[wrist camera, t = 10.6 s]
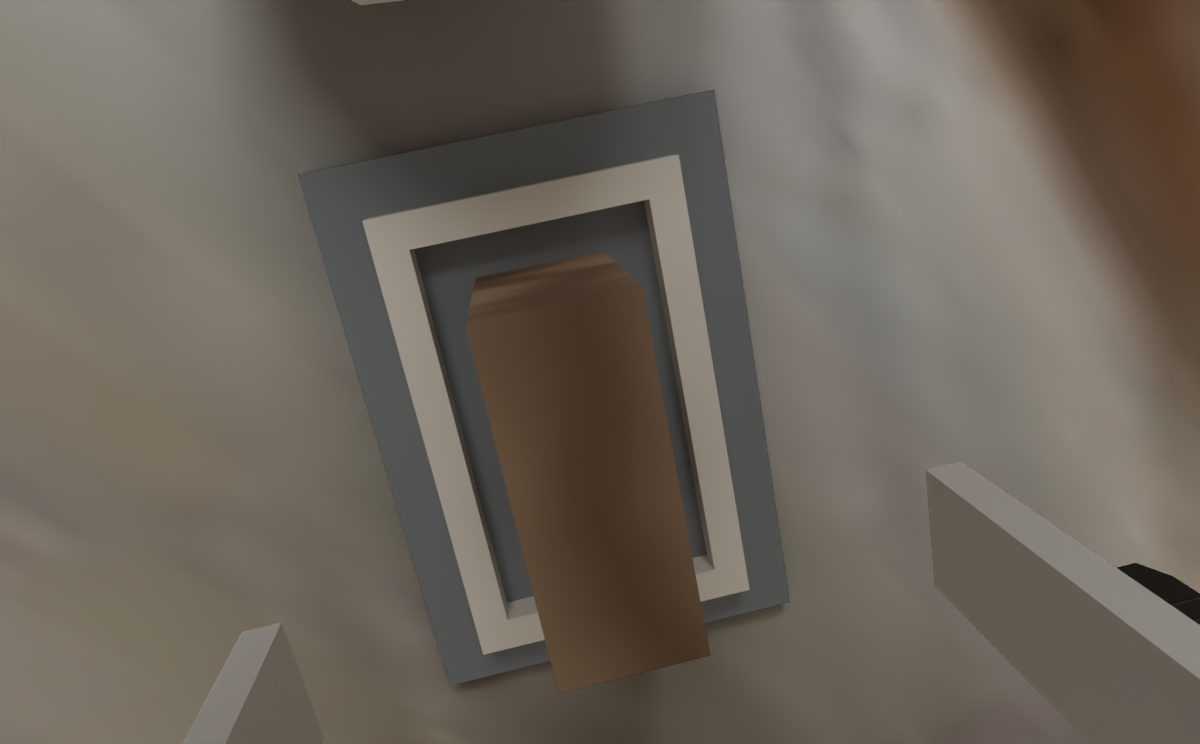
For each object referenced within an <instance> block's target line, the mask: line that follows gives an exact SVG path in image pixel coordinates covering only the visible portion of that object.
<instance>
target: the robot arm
mask: <svg viewBox="0 0 1200 744" xmlns="http://www.w3.org/2000/svg"><path fill="white" fill-rule="evenodd" d="M926 481H927V494H928V506H929V519H930V532H931V545H932V558H933V571H934V583H935V587H936V588H937V589H938V590H939V591H940V592H941V593H942V594H943V595H944V596H945V597H946V598H947V599H948V600H949V601H950V602H951V603H952V604H953V605H954V606H955V607H956V608H957V609H958V610H959V611H960V612H961V613H962V614H963V615H964V616H965V617H966V618H967V619H968V620H969V621H970V622H971V623H972V624H973V625H974V626H975V627H976V628H977V629H978V630H979V631H980V632H981V633H982V634H983V635H984V637H985V638H986V639H987V640H988V641H989V642H990V643H991V644H992V645H993V646H994V647H995V648H996V649H997V650H998V651H999V652H1000V653H1001V654H1002V655H1003V656H1004V657H1005V658H1006V659H1007V660H1008V661H1009V662H1010V663H1011V664H1012V665H1013V666H1014V667H1015V668H1016V669H1017V670H1018V671H1019V672H1020V673H1021V674H1022V675H1023V676H1024V677H1025V678H1026V679H1027V680H1028V681H1029V682H1030V683H1031V684H1032V685H1033V686H1034V687H1035V688H1036V689H1037V690H1038V691H1039V692H1040V693H1041V694H1042V695H1043V696H1044V698H1045V699H1046V700H1047V701H1048V702H1049V703H1050V704H1051V705H1052V706H1053V707H1054V708H1055V709H1056V710H1057V711H1058V712H1059V713H1060V714H1061V715H1062V716H1063V717H1064V718H1065V719H1066V720H1067V721H1068V722H1069V723H1070V724H1071V725H1072V726H1073V727H1074V728H1075V729H1076V730H1077V731H1078V732H1079V733H1080V734H1081V735H1082V736H1083V737H1084V738H1085V739H1086V740H1087V741H1088V742H1089V743H1090V744H1200V594H1199V593H1198V592H1196V591H1195V590H1193V589H1192V588H1190V587H1188V586H1187V585H1185V584H1184V583H1182V582H1181V581H1179V580H1178V579H1176V578H1174V577H1173V576H1170V575H1168V574H1165V573H1162V572H1159V571H1157V570H1154V569H1151V568H1148V567H1146V566H1143V565H1140V564H1137V563H1134V564H1130V565H1126V566H1122V567H1118V568H1116V567H1115V566H1113V565H1112V564H1110V563H1109V562H1107V561H1106V560H1104V559H1103V558H1101V557H1100V556H1099V555H1097V554H1096V553H1094V552H1093V551H1091V550H1090V549H1088V548H1087V547H1085V546H1084V545H1083V544H1081V543H1080V542H1078V541H1077V540H1075V539H1074V538H1072V537H1071V536H1069V535H1068V534H1067V533H1065V532H1064V531H1062V530H1061V529H1059V528H1058V527H1056V526H1055V525H1053V524H1052V523H1050V522H1049V521H1048V520H1046V519H1045V518H1043V517H1042V516H1040V515H1039V514H1037V513H1036V512H1034V511H1033V510H1032V509H1030V508H1029V507H1027V506H1026V505H1024V504H1023V503H1021V502H1020V501H1018V500H1017V499H1016V498H1014V497H1013V496H1011V495H1010V494H1008V493H1007V492H1005V491H1004V490H1002V489H1001V488H1000V487H998V486H997V485H995V484H994V483H992V482H991V481H989V480H988V479H986V478H985V477H983V476H982V475H981V474H979V473H978V472H976V471H975V470H973V469H972V468H970V467H969V466H967V465H966V464H965V463H963V462H962V461H960V462H956V463H952V464H948V465H943V466H939V467H935V468H931V469H927V470H926ZM323 737H324V736H323V734H322V731H321V728H320V726H319V723H318V720H317V718H316V715H315V712H314V709H313V707H312V704H311V701H310V699H309V696H308V693H307V690H306V688H305V685H304V682H303V680H302V677H301V674H300V671H299V669H298V666H297V663H296V661H295V658H294V655H293V652H292V650H291V647H290V644H289V642H288V639H287V636H286V633H285V631H284V628H283V625H282V623H277V624H273V625H269V626H265V627H260V628H256V629H252V630H248V631H244V632H242V633H241V634H240V636H239V638H238V640H237V642H236V644H235V646H234V648H233V649H232V651H231V653H230V655H229V657H228V659H227V661H226V663H225V664H224V666H223V668H222V670H221V672H220V674H219V676H218V677H217V679H216V681H215V683H214V685H213V687H212V689H211V691H210V692H209V694H208V696H207V698H206V700H205V702H204V704H203V706H202V707H201V709H200V711H199V713H198V715H197V717H196V719H195V720H194V722H193V724H192V726H191V728H190V730H189V732H188V734H187V735H186V737H185V739H184V741H183V743H182V744H321V743H322V740H323Z"/></svg>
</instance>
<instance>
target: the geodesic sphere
mask: <svg viewBox="0 0 1200 744" xmlns="http://www.w3.org/2000/svg"><path fill="white" fill-rule="evenodd" d="M351 1H353V2H355V3H357V4H359V5H368V4H377V3H386V2H395V1H404V0H351Z"/></svg>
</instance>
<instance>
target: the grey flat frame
mask: <svg viewBox="0 0 1200 744" xmlns="http://www.w3.org/2000/svg"><path fill="white" fill-rule="evenodd" d="M298 175H299V179H300V182H301V186H302V189H303V192H304V196H305V199H306V202H307V206H308V209H309V212H310V216H311V219H312V223H313V226H314V229H315V233H316V236H317V239H318V243H319V246H320V250H321V253H322V256H323V260H324V263H325V266H326V270H327V273H328V277H329V280H330V283H331V287H332V290H333V293H334V297H335V300H336V303H337V307H338V310H339V314H340V317H341V320H342V324H343V327H344V330H345V334H346V337H347V341H348V344H349V347H350V351H351V354H352V357H353V361H354V364H355V367H356V371H357V374H358V378H359V381H360V384H361V388H362V391H363V394H364V398H365V401H366V405H367V408H368V411H369V415H370V418H371V421H372V425H373V428H374V431H375V435H376V438H377V442H378V445H379V448H380V452H381V455H382V458H383V462H384V465H385V469H386V472H387V475H388V479H389V482H390V485H391V489H392V492H393V495H394V499H395V502H396V506H397V509H398V512H399V516H400V519H401V522H402V526H403V529H404V533H405V536H406V539H407V543H408V546H409V549H410V553H411V556H412V559H413V563H414V566H415V570H416V573H417V576H418V580H419V583H420V586H421V590H422V593H423V597H424V600H425V603H426V607H427V610H428V613H429V617H430V620H431V623H432V627H433V630H434V634H435V637H436V640H437V644H438V647H439V650H440V654H441V657H442V661H443V664H444V667H445V671H446V674H447V677H448V681H449V684H450V686H451V685H455V684H459V683H463V682H467V681H471V680H475V679H479V678H484V677H488V676H492V675H496V674H500V673H504V672H508V671H512V670H516V669H520V668H524V667H528V666H532V665H536V664H541V663H545V662H549V661H550V658H549V655H548V651H547V647H546V643H545V639H544V635H543V631H542V627H541V623H540V619H539V615H538V611H537V607H536V603H535V599H534V595H533V591H532V587H531V583H530V579H529V575H528V571H527V568H526V564H525V560H524V556H523V552H522V548H521V544H520V540H519V536H518V532H517V528H516V524H515V520H514V516H513V512H512V508H511V504H510V500H509V496H508V492H507V488H506V484H505V481H504V477H503V473H502V469H501V465H500V461H499V457H498V453H497V449H496V445H495V441H494V437H493V433H492V429H491V425H490V421H489V417H488V413H487V409H486V405H485V401H484V397H483V394H482V390H481V386H480V382H479V378H478V374H477V370H476V366H475V362H474V358H473V354H472V350H471V346H470V342H469V338H468V334H467V330H466V326H465V322H466V318H467V314H468V310H469V306H470V302H471V297H472V293H473V289H474V285H475V281H476V278H479V277H483V276H488V275H493V274H497V273H502V272H506V271H511V270H516V269H520V268H525V267H530V266H534V265H539V264H544V263H548V262H553V261H558V260H562V259H567V258H571V257H576V256H581V255H585V254H590V253H595V252H599V251H604V252H605V253H607V254H608V255H609V256H610V257H611V258H612V259H613V260H614V261H615V262H616V263H618V264H619V265H620V266H621V267H622V268H623V269H624V270H625V271H626V272H627V273H629V274H630V275H631V276H632V277H633V278H634V279H635V280H636V281H637V282H639V283H640V284H641V285H642V288H643V294H644V299H645V305H646V310H647V315H648V321H649V326H650V332H651V337H652V342H653V348H654V353H655V359H656V364H657V369H658V375H659V380H660V385H661V391H662V396H663V402H664V407H665V412H666V418H667V423H668V429H669V434H670V439H671V445H672V450H673V456H674V461H675V466H676V472H677V477H678V483H679V488H680V493H681V499H682V504H683V510H684V515H685V520H686V526H687V531H688V537H689V542H690V547H691V553H692V558H693V564H694V569H695V574H696V580H697V585H698V591H699V596H700V601H701V607H702V612H703V618H704V623H707V622H711V621H715V620H720V619H724V618H728V617H732V616H736V615H740V614H744V613H748V612H752V611H756V610H760V609H764V608H768V607H772V606H777V605H781V604H785V603H789V602H790V600H789V594H788V587H787V580H786V573H785V566H784V560H783V553H782V546H781V539H780V533H779V526H778V519H777V512H776V505H775V499H774V492H773V485H772V478H771V472H770V465H769V458H768V451H767V445H766V438H765V431H764V424H763V417H762V411H761V404H760V397H759V390H758V384H757V377H756V370H755V363H754V356H753V350H752V343H751V336H750V329H749V323H748V316H747V309H746V302H745V296H744V289H743V282H742V275H741V268H740V262H739V255H738V248H737V241H736V235H735V228H734V221H733V214H732V207H731V201H730V194H729V187H728V180H727V174H726V167H725V160H724V153H723V147H722V140H721V133H720V126H719V119H718V113H717V106H716V99H715V92H714V90H710V91H705V92H700V93H695V94H690V95H685V96H681V97H676V98H671V99H666V100H661V101H656V102H651V103H646V104H641V105H636V106H631V107H627V108H622V109H617V110H612V111H607V112H602V113H597V114H592V115H587V116H582V117H577V118H573V119H568V120H563V121H558V122H553V123H548V124H543V125H538V126H533V127H528V128H523V129H519V130H514V131H509V132H504V133H499V134H494V135H489V136H484V137H479V138H474V139H469V140H465V141H460V142H455V143H450V144H445V145H440V146H435V147H430V148H425V149H420V150H415V151H411V152H406V153H401V154H396V155H391V156H386V157H381V158H376V159H371V160H366V161H361V162H357V163H352V164H347V165H342V166H337V167H332V168H327V169H322V170H317V171H312V172H307V173H303V174H298Z"/></svg>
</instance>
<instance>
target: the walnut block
mask: <svg viewBox="0 0 1200 744" xmlns="http://www.w3.org/2000/svg"><path fill="white" fill-rule="evenodd" d="M465 326H466V330H467V334H468V338H469V342H470V346H471V350H472V354H473V358H474V362H475V366H476V370H477V374H478V378H479V382H480V386H481V390H482V394H483V397H484V401H485V405H486V409H487V413H488V417H489V421H490V425H491V429H492V433H493V437H494V441H495V445H496V449H497V453H498V457H499V461H500V465H501V469H502V473H503V477H504V481H505V484H506V488H507V492H508V496H509V500H510V504H511V508H512V512H513V516H514V520H515V524H516V528H517V532H518V536H519V540H520V544H521V548H522V552H523V556H524V560H525V564H526V568H527V571H528V575H529V579H530V583H531V587H532V591H533V595H534V599H535V603H536V607H537V611H538V615H539V619H540V623H541V627H542V631H543V635H544V639H545V643H546V647H547V651H548V655H549V658H550V662H551V666H552V670H553V674H554V678H555V682H556V686H557V690H558V693H562V692H566V691H570V690H574V689H578V688H582V687H586V686H590V685H594V684H598V683H602V682H606V681H610V680H614V679H618V678H622V677H626V676H630V675H634V674H638V673H642V672H646V671H650V670H654V669H658V668H662V667H666V666H670V665H674V664H678V663H682V662H686V661H690V660H694V659H698V658H702V657H706V656H711V655H710V650H709V645H708V639H707V634H706V628H705V623H704V618H703V612H702V607H701V601H700V596H699V591H698V585H697V580H696V574H695V569H694V564H693V558H692V553H691V547H690V542H689V537H688V531H687V526H686V520H685V515H684V510H683V504H682V499H681V493H680V488H679V483H678V477H677V472H676V466H675V461H674V456H673V450H672V445H671V439H670V434H669V429H668V423H667V418H666V412H665V407H664V402H663V396H662V391H661V385H660V380H659V375H658V369H657V364H656V359H655V353H654V348H653V342H652V337H651V332H650V326H649V321H648V315H647V310H646V305H645V299H644V294H643V288H642V285H641V284H640V283H639V282H637V281H636V280H635V279H634V278H633V277H632V276H631V275H630V274H629V273H627V272H626V271H625V270H624V269H623V268H622V267H621V266H620V265H619V264H618V263H616V262H615V261H614V260H613V259H612V258H611V257H610V256H609V255H608V254H607V253H605V252H604V251H599V252H595V253H590V254H585V255H581V256H576V257H571V258H567V259H562V260H558V261H553V262H548V263H544V264H539V265H534V266H530V267H525V268H520V269H516V270H511V271H506V272H502V273H497V274H493V275H488V276H483V277H479V278H476V281H475V285H474V289H473V293H472V297H471V302H470V306H469V310H468V314H467V318H466V322H465Z"/></svg>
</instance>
